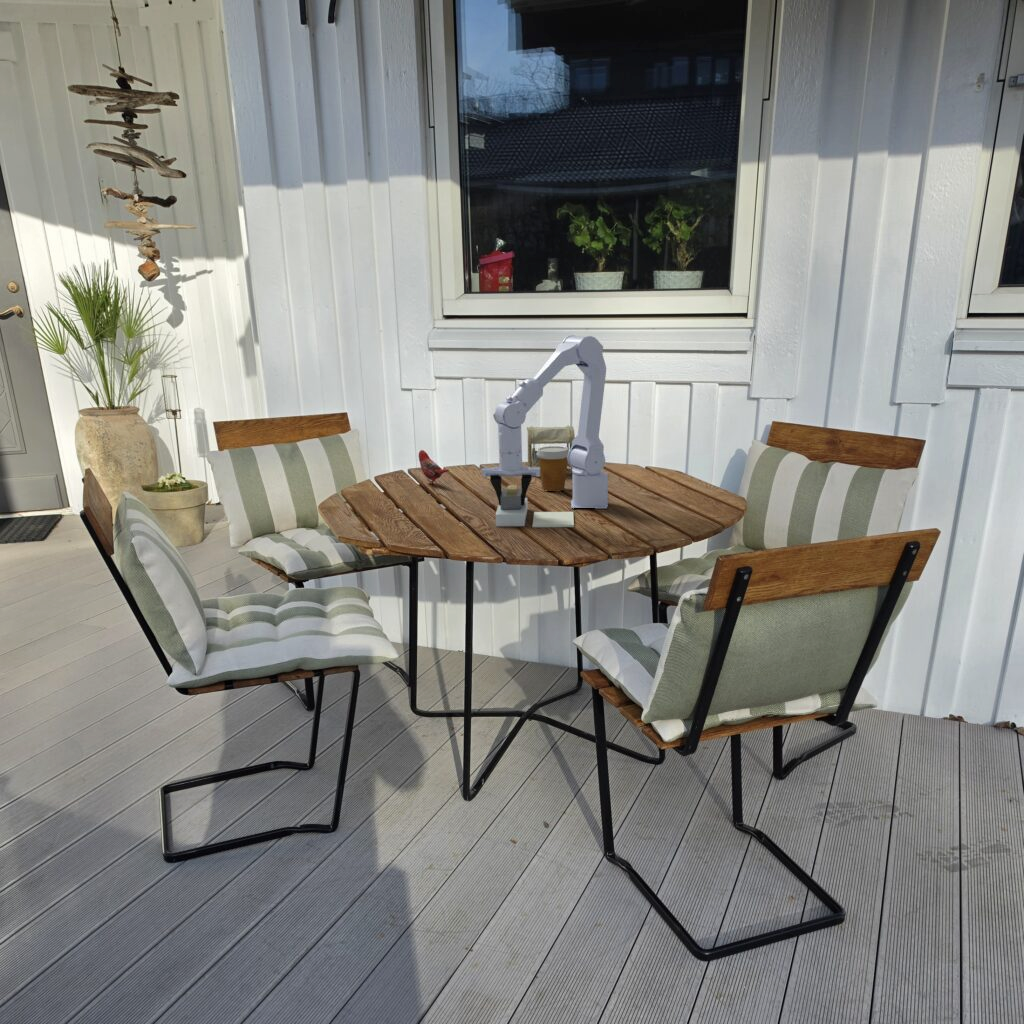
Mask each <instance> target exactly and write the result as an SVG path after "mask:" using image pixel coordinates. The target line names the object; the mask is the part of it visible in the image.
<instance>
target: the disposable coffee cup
mask: <svg viewBox="0 0 1024 1024" xmlns="http://www.w3.org/2000/svg"><path fill="white" fill-rule="evenodd" d="M536 451H537V453H536V455H537V457H538V461H539V467H538V468H540V480H541V488H542V490H543V489H544V490H547V491H558V490H562V489H564V490H565V488H564V487H566V486H565V485H566V478H567V473H566V471H568V470H567V467H568V466H567V462H568V459H567V456H568V453H569V452H568V448H567V446H566V447H565V446H559V445H558V446H557V445H555V446H551V445H550V446H542V447H539V448H537V450H536Z"/></svg>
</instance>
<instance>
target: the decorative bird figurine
mask: <svg viewBox="0 0 1024 1024" xmlns="http://www.w3.org/2000/svg"><path fill="white" fill-rule="evenodd" d="M418 461H419V465H420V468H421V472H422V474H423V475H424V476H425V477H426V478H427V479H429V481H428V482H430V483H434V485H436V483H435V481H436V480H437V479H439V478H441V477H442V475H443V473H447V472H449V471H450V469H449V468H447V469H443V468H441V467H440V466H439V465H438V464H437V463H436V462H435V461H434V460H432V459H431V458H430V457H429V455H428V453H427V452H426V451H425V450H424V449H423V450H422V449H421V450H420V451H419V452H418ZM430 480H431V481H430Z"/></svg>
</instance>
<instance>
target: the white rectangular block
mask: <svg viewBox="0 0 1024 1024" xmlns="http://www.w3.org/2000/svg"><path fill="white" fill-rule="evenodd" d="M516 485H517V489H519V487H518V484H516ZM528 507H529V505H528V497H525V504H524V505H522V507H521V510H501V505H499V504H498V506H497V508H496V512H495V527H525V524H526V519H527V514H528Z"/></svg>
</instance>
